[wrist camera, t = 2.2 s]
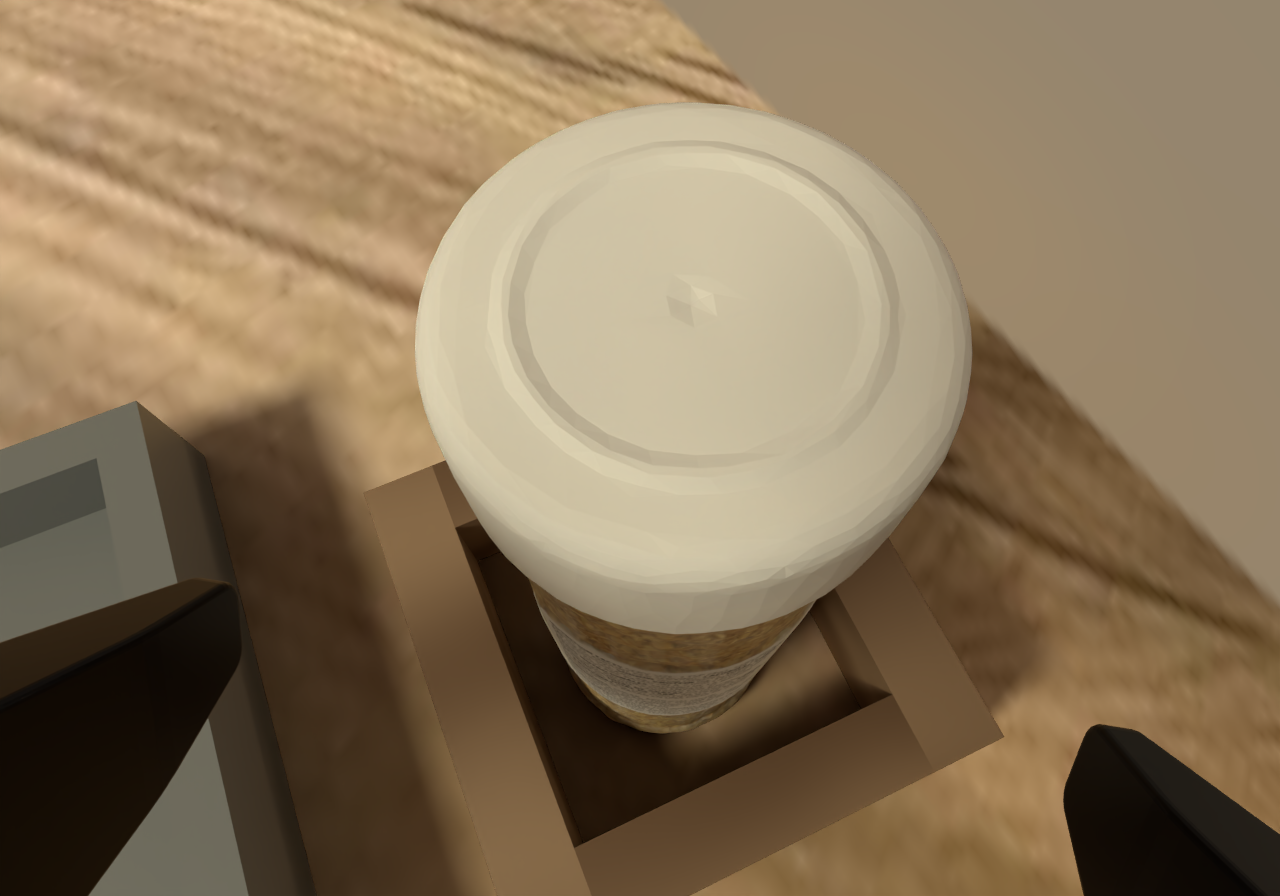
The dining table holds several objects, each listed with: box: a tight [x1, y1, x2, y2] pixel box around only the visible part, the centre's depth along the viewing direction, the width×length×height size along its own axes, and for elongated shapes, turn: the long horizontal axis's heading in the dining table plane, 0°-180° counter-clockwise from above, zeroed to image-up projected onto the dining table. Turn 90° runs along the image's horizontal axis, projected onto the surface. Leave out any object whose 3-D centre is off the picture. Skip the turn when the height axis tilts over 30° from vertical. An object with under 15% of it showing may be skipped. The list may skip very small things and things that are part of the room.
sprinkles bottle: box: [415, 102, 972, 734], centre depth 13 cm, size 5×5×13 cm
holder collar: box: [364, 460, 1004, 896], centre depth 18 cm, size 10×10×2 cm
